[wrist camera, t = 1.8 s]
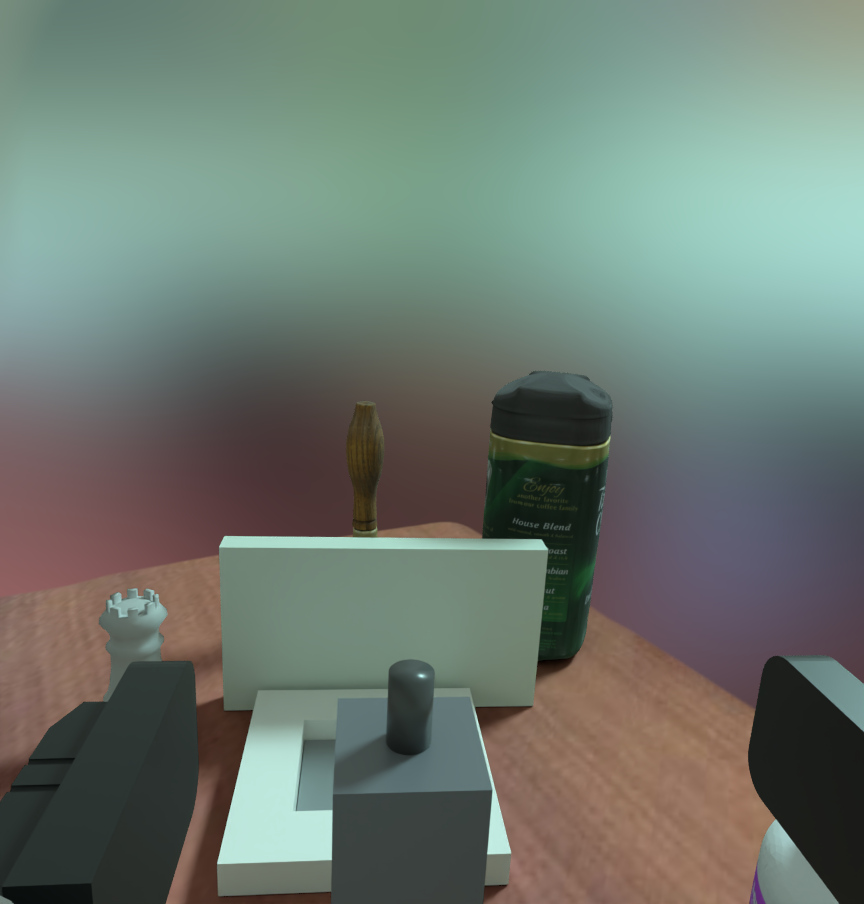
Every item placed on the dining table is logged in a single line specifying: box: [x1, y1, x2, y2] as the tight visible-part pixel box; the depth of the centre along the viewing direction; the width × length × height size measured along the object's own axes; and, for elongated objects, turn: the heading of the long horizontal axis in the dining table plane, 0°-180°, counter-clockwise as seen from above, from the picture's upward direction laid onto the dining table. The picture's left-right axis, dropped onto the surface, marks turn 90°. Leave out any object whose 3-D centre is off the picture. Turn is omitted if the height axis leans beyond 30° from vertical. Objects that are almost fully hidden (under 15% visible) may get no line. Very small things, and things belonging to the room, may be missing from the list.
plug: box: [331, 659, 493, 904], centre depth 23 cm, size 4×5×13 cm
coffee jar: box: [482, 371, 612, 661], centre depth 49 cm, size 10×8×19 cm
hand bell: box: [346, 401, 384, 538], centre depth 50 cm, size 8×8×16 cm
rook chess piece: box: [99, 588, 167, 702], centre depth 38 cm, size 4×4×8 cm
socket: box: [217, 536, 548, 896], centre depth 35 cm, size 18×14×10 cm
